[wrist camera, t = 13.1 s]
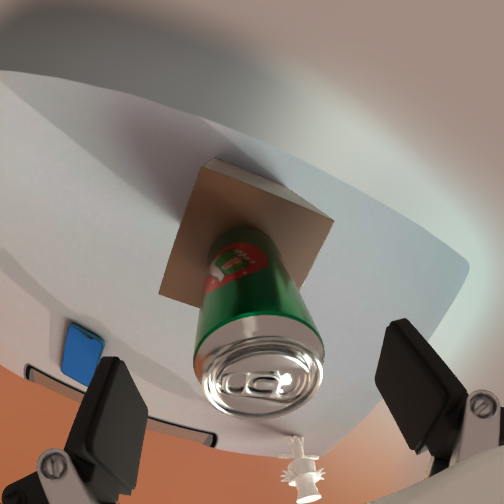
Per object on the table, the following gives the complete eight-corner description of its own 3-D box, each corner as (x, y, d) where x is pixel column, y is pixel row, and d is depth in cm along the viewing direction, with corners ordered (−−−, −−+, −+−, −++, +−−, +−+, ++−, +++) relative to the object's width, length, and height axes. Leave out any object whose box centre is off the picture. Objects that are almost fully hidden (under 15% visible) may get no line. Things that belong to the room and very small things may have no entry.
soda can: (270, 295, 22) (307, 425, 10) (203, 285, 21) (187, 420, 10) (285, 231, 20) (353, 335, 9) (213, 219, 19) (196, 320, 8)
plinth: (187, 229, 38) (158, 294, 21) (214, 157, 35) (201, 166, 18) (256, 254, 40) (277, 332, 23) (286, 186, 37) (334, 220, 20)
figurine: (267, 441, 56) (277, 505, 40) (282, 424, 54) (296, 493, 37) (304, 445, 59) (319, 503, 42) (321, 428, 56) (340, 490, 40)
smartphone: (60, 371, 44) (68, 323, 40) (61, 368, 45) (70, 320, 41) (91, 388, 46) (105, 343, 42) (92, 385, 47) (106, 340, 43)
